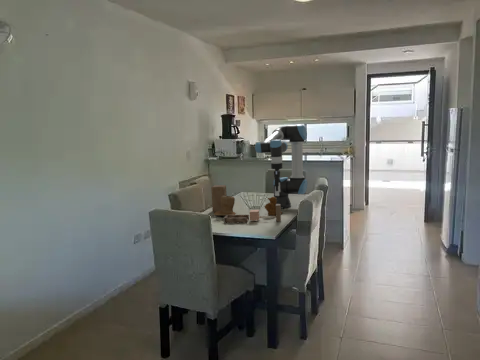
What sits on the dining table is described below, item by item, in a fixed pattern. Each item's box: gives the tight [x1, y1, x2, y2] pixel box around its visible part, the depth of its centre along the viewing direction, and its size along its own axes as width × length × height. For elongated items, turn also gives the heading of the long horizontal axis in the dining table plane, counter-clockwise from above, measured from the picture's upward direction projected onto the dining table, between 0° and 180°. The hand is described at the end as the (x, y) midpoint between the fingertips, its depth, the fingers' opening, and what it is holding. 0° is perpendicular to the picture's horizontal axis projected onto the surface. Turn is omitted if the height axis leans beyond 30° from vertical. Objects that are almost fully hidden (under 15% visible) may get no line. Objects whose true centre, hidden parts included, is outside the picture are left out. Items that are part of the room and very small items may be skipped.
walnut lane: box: [223, 214, 250, 224], centre depth 279 cm, size 16×10×4 cm, turn 82°
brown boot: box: [213, 195, 237, 217], centre depth 298 cm, size 15×12×15 cm
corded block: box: [249, 204, 282, 222], centre depth 276 cm, size 21×6×11 cm, turn 82°
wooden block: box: [210, 184, 228, 213], centre depth 315 cm, size 10×10×20 cm
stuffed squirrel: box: [263, 196, 283, 216], centre depth 293 cm, size 10×14×13 cm
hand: (277, 193), depth 273 cm, fingers open, 13 cm apart
